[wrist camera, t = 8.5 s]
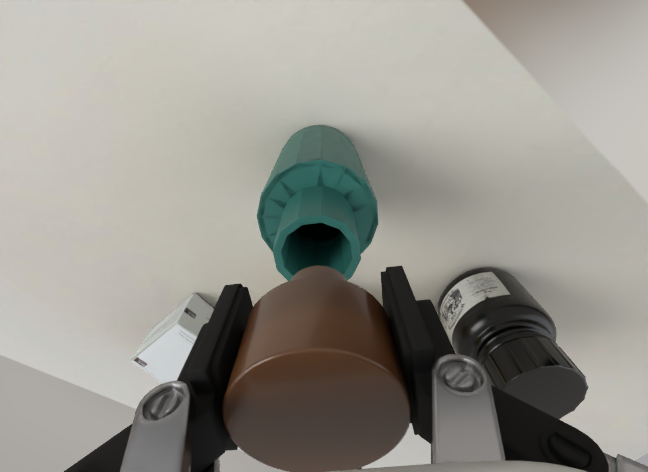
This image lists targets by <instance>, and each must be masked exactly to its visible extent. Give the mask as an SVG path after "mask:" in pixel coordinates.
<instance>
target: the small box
mask: <svg viewBox="0 0 648 472" xmlns="http://www.w3.org/2000/svg"><path fill="white" fill-rule="evenodd" d="M213 311H214V308H213V307H211V306H210V305H209V304H208V303H206V302H205V301H204V300H203V299H202V298H201V297H199V296H198V295H197V294H196V293H193V294H192V295H191V296H190V297H189V298H188V299H186V300H185V301H184V302H183V303H182V304H181V305H179V306H178V307H177V308H176V309H175V310H174V311H172V312H171V313H170V314H169V315H168V316H167V317H165V318H164V319H163V320H162V321H161V322H160V323H158V324H157V325H156V326H155V327H154V328H153V329H152V330H151V331H150V333H149V334H148V336H147V337H146V339H145V340H144V342H143V343H142V345H141V346H140V348H139V349H138V351H137V352H136V353H135V355H134V356H133V358H132V359H131V363H133V364H135V365H136V366H138V367H139V368H141V369H142V370H144V371H145V372H147V373H149V374H150V375H152V376H153V377H154V378H155V379H156V380H157V381H158V382H160V383H161V384H163V383H166V382H170V381H177V379H178V377H179V374H180V372H181V370H182V368H183V366H184V364H185V362H186V360H187V357H188V355H189V353H190V351H191V349H192V347H193V345H194V342H195V340H196V338H197V336H198V334H199V332H200V330H201V328H202V326H203V324H205V323H208V322H209V319H210V317H211V315H212V313H213Z"/></svg>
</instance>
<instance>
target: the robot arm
mask: <svg viewBox="0 0 648 472" xmlns="http://www.w3.org/2000/svg"><path fill="white" fill-rule="evenodd" d="M381 283H382V298H383V308H384V310H385V312H386V314H387V316H388V318H389V322H390V326H391V330H392V333H393V337H394V341H395V345H396V348H397V352H398V356H399V360H400V364H401V367H402V371H403V375H404V379H405V382H406V385H407V389H408V392H409V396H410V400H411V407H412V412H411V420H410V423H412V426H413V430H414V434H415V435H417V434H419V435H420V436H421V437H422V438H423V439H425V440H426V441H428V442H429V443H430V444H431V464H424V465H410V466H396V467H383V468H369V469H355V470H341V471H328V472H648V467H647V466H645V465H643V464H640V463H638V462H636V461H633V460H631V459H629V458H626V457H624V456H622V455H620V454H618V455H617V457H616V458H614V457H612V456H610V455H608V454H605V453H603V452H602V450H601V449H600V447H599V446H598V445H597V444H596V443H595V442H594V441H593V440H592V439H591V438H590V437H589V436H587V435H586V434H584V433H583V432H581V431H579V430H578V429H576V428H574V427H572V426H570V425H568V424H566V423H564V422H563V421H561V420H559V419H557V418H555V417H553V416H551V415H549V414H547V413H545V412H543V411H541V410H539V409H537V408H535V407H533V406H531V405H529V404H527V403H525V402H523V401H521V400H519V399H518V398H516V397H514V396H512V395H510V394H508V393H506V392H504V391H502V390H500V389H498V388H496V387H494V386H492V385H491V382H490V377H489V375H488V372H487V370H486V369H485V368H484V367H483V365H482V364H480V363H479V362H478V361H476V360H475V359H473V358H470V357H468V356H465V355H460V354H456V353H455V351H454V349H453V347H452V345H451V343H450V340H449V338H448V336H447V334H446V332H445V330H444V327H443V325H442V323H441V321H440V319H439V317H438V314H437V312H436V310H435V308H434V306H433V304H432V302H431V300H419V301H416V300H415V297H414V295H413V292H412V290H411V287H410V285H409V282H408V280H407V277H406V275H405V272H404V270H403V267H402V266H395V267H387V268H386V272H381ZM252 308H253V305H252V301H251V298H250V294H249V291H248V288H247V287H243V286H242V284H233V285H226V286H225V287H224V288H223V291H222V293H221V295H220V297H219V300H218V302H217V304H216V306H215V308H214V311H213V313H212V315H211V317H210V319H209V322H208V323H205V324H203V326H202V328H201V330H200V332H199V334H198V336H197V338H196V340H195V342H194V345H193V347H192V349H191V351H190V353H189V355H188V357H187V360H186V362H185V364H184V366H183V368H182V370H181V372H180V374H179V377H178V379H177V381H170V382H166V383H163V384H161V385H159V386H157V387H155V388H154V389H152V390H151V391H150V392H149V393H148V394H146V395H145V396H144V398H143V399H142V400H141V402H140V403H139V405H138V407H137V410H136V413H135V417H134V420H133V424H131V425H130V426H129V427H127V428H125V429H124V430H123V431H121V432H120V433H118V434H117V435H115V436H114V437H113V438H111V439H110V440H108V441H107V442H105V443H104V444H103V445H101V446H100V447H98V448H97V449H95V450H94V451H93V452H91V453H90V454H88V455H87V456H85V457H84V458H83V459H81V460H80V461H78V462H77V463H76V464H74V465H73V466H71V467H70V468H68V469H67V470H66V471H64V472H220V461H219V457H220V456H221V455H222V454H223V453H224V452H225V450H237V448H238V446H237V445H236V444H235V442H234V441H233V440H232V438H231V437H230V436H229V434H228V432H227V430H226V428H225V424H224V421H223V414H222V406H223V400H224V396H225V393H226V389H227V386H228V383H229V379H230V376H231V373H232V369H233V366H234V362H235V359H236V356H237V352H238V349H239V346H240V342H241V339H242V335H243V332H244V329H245V325H246V322H247V319H248V316H249V314H250V312H251V310H252Z"/></svg>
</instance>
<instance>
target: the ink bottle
mask: <svg viewBox="0 0 648 472" xmlns="http://www.w3.org/2000/svg"><path fill="white" fill-rule="evenodd" d="M438 314H439V318H440V320H441V322H442V325H443V327H444V329H445V331H446V333H447V335H448V337H449V340H450V342H451V344H452V346H453V348H454V350H455V352H456V354H460V355H465V356H468V357H470V358H473V359H475V360H476V361H478V362H479V363H480V364H482V365H483V367H484V368H485V369H486V370H487V372H488V375H489V377H490V382H491V385H492V386H494V387H496V388H498V389H500V390H502V391H504V392H506V393H508V394H510V395H512V396H514V397H516V398H518V399H519V400H521V401H523V402H525V403H527V404H529V405H531V406H533V407H535V408H537V409H539V410H541V411H543V412H545V413H547V414H549V415H551V416H553V417H555V418H557V419H560V418H562V417H563V416H565V415H566V414H568V413H570V412H572V411H574V410H575V408H576V407H577V406H578V405H579V404H580V403H581V402H582V401H583V400H584V399H585V394H586V391H587V389H588V385H587V383H586V380H585V376H584V375H583V374H582V372H581V371H580V370H579V369H578V368H577V366H576V365H575V364H574V363H573V362H572V361H571V359H570V358H569V357H568V356H567V355H566V353H565V352H564V351H563V350H562V349H561V348H560V347H559V346H558V345H557V343H556V342H555V341H556V327H555V324H554V322H553V320H552V319H551V317H550V316H549V315H548V313H547V312H546V311H545V310H544V309H543V308H542V307H541V306H540V305H539V303H538V302H537V301H536V300H535V299H534V298H533V297H532V296H531V295H530V294H529V292H528V291H527V290H526V289H525V288H524V287H523V286H522V285H521V284H520V283H519V281H518V280H517V279H516V278H514V277H513V276H512V275H510V274H508V273H506V272H504V271H501V270H498V269H491V268H481V269H475V270H471V271H468V272H466V273H464V274H462V275H460V276H459V277H457V278H456V279H455V280H453V281H452V282H451V283H450V284H449V285H448V286H447V288H446V289H445V290H444V292H443V293H442V295H441V297H440V300H439V304H438Z"/></svg>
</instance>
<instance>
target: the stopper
mask: <svg viewBox="0 0 648 472" xmlns="http://www.w3.org/2000/svg"><path fill="white" fill-rule="evenodd" d="M411 412H412V407H411V400H410V396H409V392H408V389H407V385H406V382H405V379H404V375H403V371H402V367H401V364H400V360H399V356H398V352H397V348H396V345H395V341H394V337H393V333H392V330H391V326H390V322H389V318H388V316H387V314H386V312H385V310H384V308H383V307H382V306H381V304H380V303H379V302H378V301H377V300H376V299H375V298H374V297H373V296H372V295H371V294H369V293H368V292H367V291H365V290H364V289H362V288H360V287H359V286H357V285H354V284H352V283H350V282H348V281H347V279H346V278H345V277H344V276H343V275H342V274H341V273H340V272H339V271H337V270H335V269H333V268H331V267H327V266H310V267H307V268H304V269H302V270H300V271H299V272H298V273H296V274H295V275H294V276H293V277H292V279H291V280H290V281H289V282H286V283H284V284H282V285H279V286H277V287H276V288H274V289H272V290H270V291H269V292H268V293H267V294H265V295H264V296H263V297H262V298H261V299H260V300H259V301H258V302H257V303H256V304H255V306H254V307H253V308H252V310H251V312H250V314H249V316H248V319H247V322H246V325H245V329H244V332H243V335H242V339H241V342H240V346H239V349H238V352H237V356H236V359H235V362H234V366H233V369H232V373H231V376H230V379H229V383H228V386H227V389H226V393H225V396H224V400H223V406H222V414H223V421H224V424H225V428H226V430H227V432H228V434H229V436H230V437H231V438H232V440H233V441H234V442H235V444H236V445H237V446H238V447H239V448H240V449H241V450H243V451H244V452H245V453H247V454H248V455H249V456H251V457H253V458H254V459H256V460H258V461H260V462H262V463H264V464H266V465H268V466H271V467H274V468H277V469H281V470H284V471H289V472H328V471H341V470H354V469H357V468H360V467H363V466H365V465H368V464H370V463H372V462H374V461H376V460H378V459H380V458H382V457H383V456H385V455H386V454H388V453H389V452H390V451H391V450H392V449H394V448H395V447H396V446H397V444H398V443H399V442H400V441H401V440H402V438H403V437H404V435H405V434H406V431H407V429H408V427H409V424H410V420H411Z"/></svg>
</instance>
